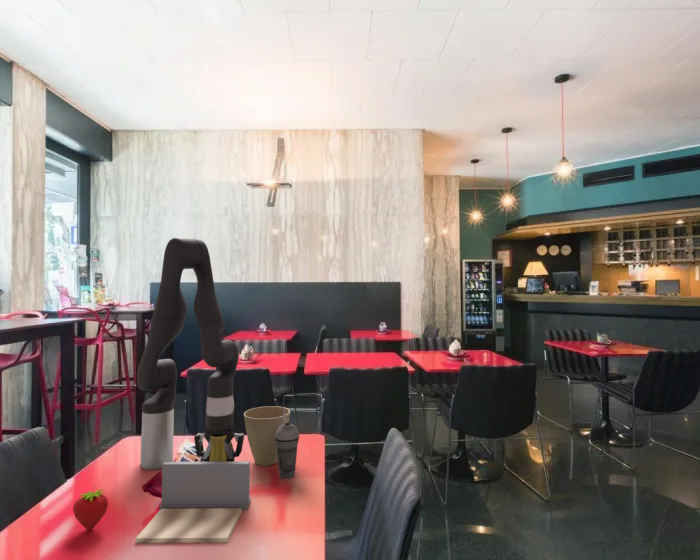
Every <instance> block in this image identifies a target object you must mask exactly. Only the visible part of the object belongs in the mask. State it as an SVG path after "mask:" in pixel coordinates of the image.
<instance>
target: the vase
mask: <svg viewBox="0 0 700 560" xmlns="http://www.w3.org/2000/svg"><path fill="white" fill-rule="evenodd" d="M226 437H227V435H225V436H221V437H213V436H211V435H210V439H211V450H210V455H209V462H228V459H229V457H228V455H227V453H226V452H225V450H224V442H223V438H225V440H226ZM228 446H229V444H228Z"/></svg>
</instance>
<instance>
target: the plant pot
mask: <svg viewBox="0 0 700 560" xmlns="http://www.w3.org/2000/svg"><path fill="white" fill-rule="evenodd" d="M283 409H285V419H286V423H290V416H291V410H290V409H289V408H287V407H284V406H279V405H278V406H274V405H273V406H272V405H271V406H270V405H269V406H267V405H266V406H260V407H254V408H253V407H252V408H250V409H248V410H246V411H245V412H244V413H243V418H244V426H245V427H244V428H245V431H246V437H247V441H248V444H249V448H250V452H251V454H252V457H253V460H254V463H255V464H256V465H257V466H260V467H261V466H262V467H263V466H265V467H267V466H272V465H274V464H278V456H277V445H276V440H275V436H276V432H277V430H278V428H279V427H280V426H281V425H282V424H284V415H283Z"/></svg>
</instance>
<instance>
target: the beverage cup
mask: <svg viewBox="0 0 700 560" xmlns="http://www.w3.org/2000/svg"><path fill="white" fill-rule="evenodd" d="M283 415H284V424H282V425H281V426H280V427H279V428H278V430H277V432H276V436H275V440H276V445H277V456H278V462H277V466H278V467H277V469H278V475H279V476H278V477H279V479H280V478H281V480H284V479H288V480H291V479H290V478H292V477H293V478H294V477H295V474H296V473H295V472H296V468H297V467H296V465H297V454H298V445H299V440H300V435H299V430H298V428H297V426H296V425H295V424H292V422H289V423H286V419H285V409H283ZM293 478H292V479H293Z"/></svg>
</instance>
